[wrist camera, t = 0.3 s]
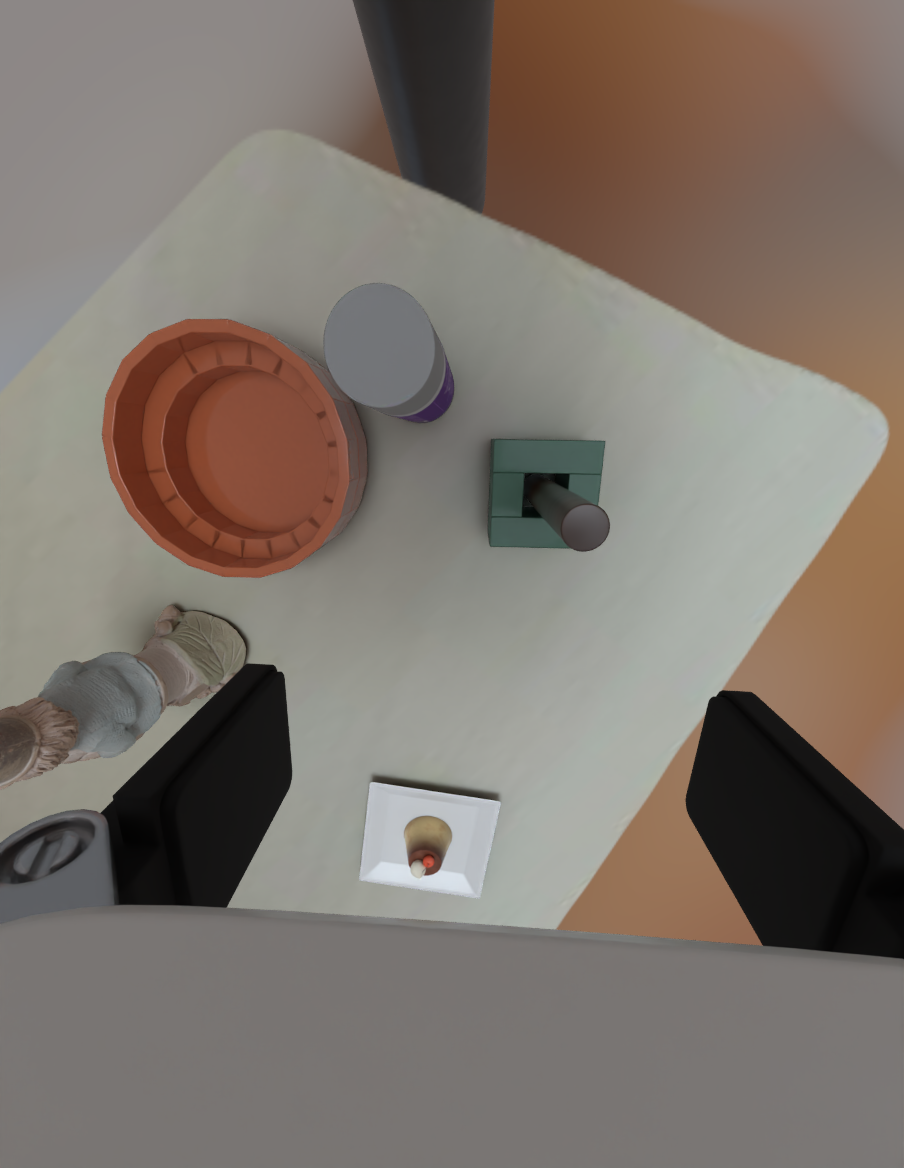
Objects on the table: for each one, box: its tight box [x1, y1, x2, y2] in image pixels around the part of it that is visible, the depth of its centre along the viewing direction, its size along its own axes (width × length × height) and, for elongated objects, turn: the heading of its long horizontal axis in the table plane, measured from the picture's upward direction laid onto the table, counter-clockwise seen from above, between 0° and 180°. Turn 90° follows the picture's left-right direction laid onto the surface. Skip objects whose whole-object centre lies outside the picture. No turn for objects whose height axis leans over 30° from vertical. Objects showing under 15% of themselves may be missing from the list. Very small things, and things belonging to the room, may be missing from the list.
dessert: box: [359, 782, 501, 898], centre depth 42 cm, size 12×12×5 cm
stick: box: [523, 474, 610, 552], centre depth 26 cm, size 2×2×16 cm
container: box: [324, 283, 454, 423], centre depth 25 cm, size 5×5×15 cm
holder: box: [488, 439, 605, 548], centre depth 32 cm, size 7×7×5 cm
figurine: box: [0, 605, 246, 790], centre depth 30 cm, size 9×8×20 cm
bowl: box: [102, 319, 368, 578], centre depth 31 cm, size 15×15×6 cm
